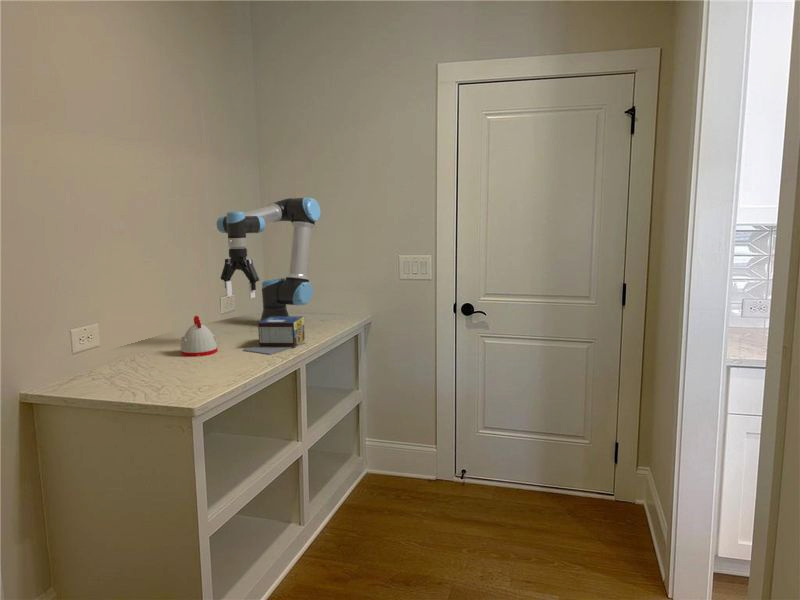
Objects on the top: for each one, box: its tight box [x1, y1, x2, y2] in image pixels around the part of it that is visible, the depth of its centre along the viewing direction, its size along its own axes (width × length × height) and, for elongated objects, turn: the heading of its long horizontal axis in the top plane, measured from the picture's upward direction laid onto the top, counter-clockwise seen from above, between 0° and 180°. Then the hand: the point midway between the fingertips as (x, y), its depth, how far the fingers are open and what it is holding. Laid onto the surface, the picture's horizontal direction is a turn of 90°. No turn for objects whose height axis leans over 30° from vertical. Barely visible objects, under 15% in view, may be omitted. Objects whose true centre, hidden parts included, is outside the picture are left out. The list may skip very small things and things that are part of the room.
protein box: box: [257, 315, 306, 348], centre depth 231 cm, size 10×15×16 cm
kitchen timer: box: [180, 315, 218, 358], centre depth 218 cm, size 14×14×15 cm
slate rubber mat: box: [242, 341, 307, 356], centre depth 226 cm, size 22×15×1 cm
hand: (240, 296), depth 234 cm, fingers open, 13 cm apart
